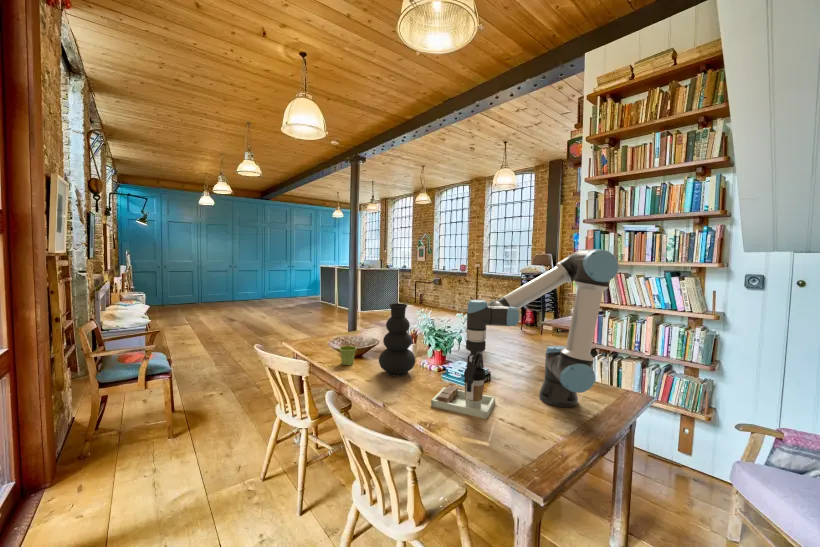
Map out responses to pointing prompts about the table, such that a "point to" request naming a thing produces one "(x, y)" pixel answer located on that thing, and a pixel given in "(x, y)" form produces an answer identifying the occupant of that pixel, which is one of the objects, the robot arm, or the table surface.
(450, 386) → the walnut block
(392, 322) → the vase
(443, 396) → the walnut block
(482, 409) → the tray
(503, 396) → the table surface
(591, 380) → the robot arm
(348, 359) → the plant pot
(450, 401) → the walnut block
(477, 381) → the coffee cup
